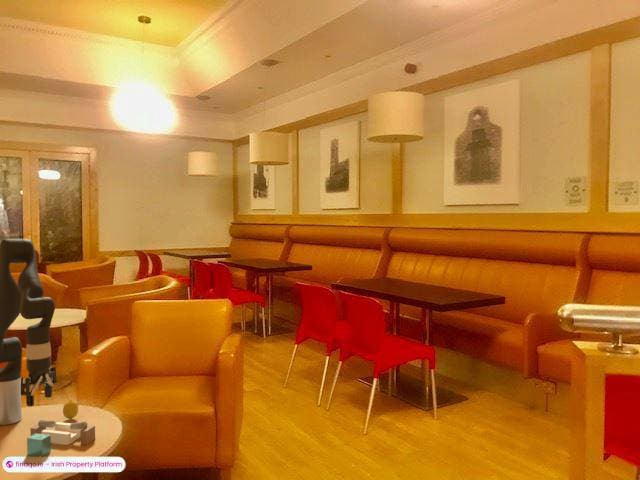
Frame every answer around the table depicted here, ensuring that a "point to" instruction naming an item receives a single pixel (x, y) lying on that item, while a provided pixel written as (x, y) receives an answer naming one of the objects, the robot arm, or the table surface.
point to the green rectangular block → (38, 445)
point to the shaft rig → (65, 431)
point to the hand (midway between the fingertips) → (39, 401)
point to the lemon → (70, 409)
